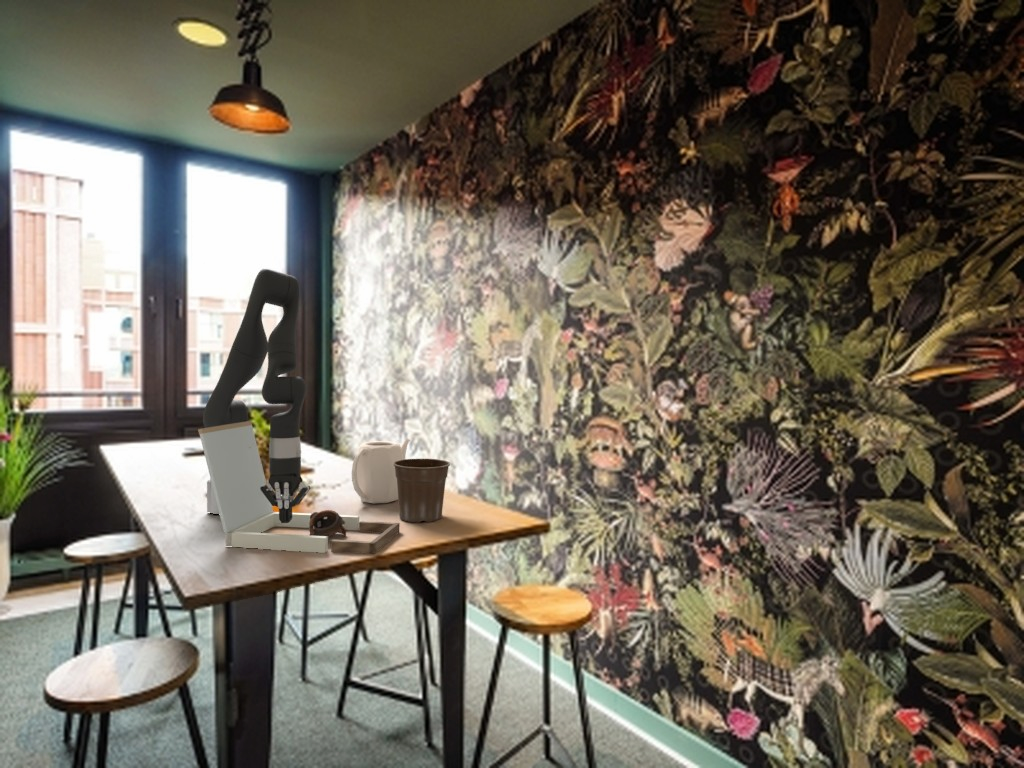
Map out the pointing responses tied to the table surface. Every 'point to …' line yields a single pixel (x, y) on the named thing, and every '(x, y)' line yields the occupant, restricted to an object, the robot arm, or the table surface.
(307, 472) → the table surface
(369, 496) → the watering can
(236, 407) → the robot arm
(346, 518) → the cold frame
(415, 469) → the plant pot
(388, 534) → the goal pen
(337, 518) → the pottery mug
